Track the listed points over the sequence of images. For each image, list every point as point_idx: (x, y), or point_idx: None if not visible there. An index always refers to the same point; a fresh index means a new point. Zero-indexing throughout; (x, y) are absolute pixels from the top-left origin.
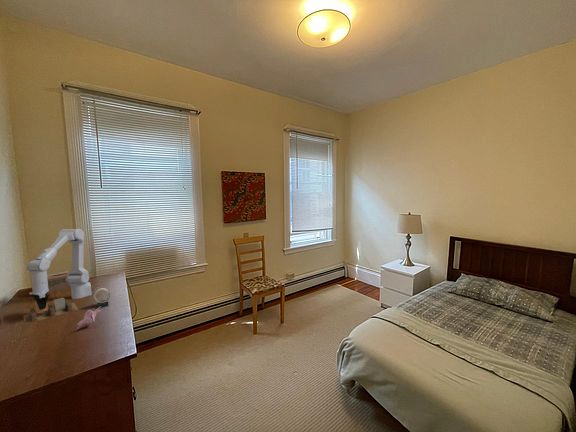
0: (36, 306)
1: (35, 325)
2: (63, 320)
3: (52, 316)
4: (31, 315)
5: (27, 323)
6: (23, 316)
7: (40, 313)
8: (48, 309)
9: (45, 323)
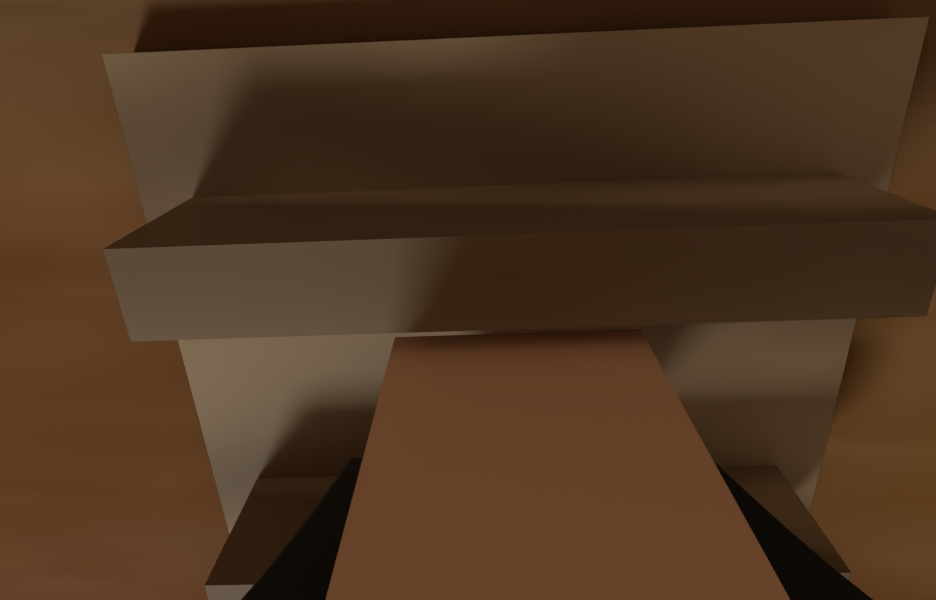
0: (356, 491)
1: (45, 225)
2: (5, 563)
3: (231, 491)
4: (390, 216)
5: (130, 103)
6: (824, 21)
7: (651, 344)
8: (738, 477)
9: (41, 365)
